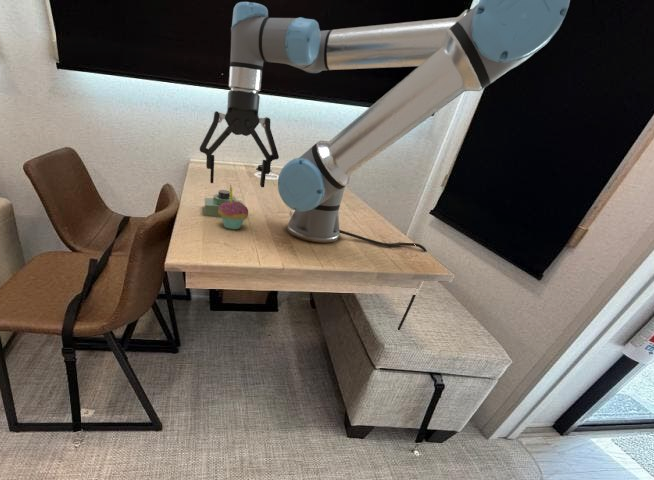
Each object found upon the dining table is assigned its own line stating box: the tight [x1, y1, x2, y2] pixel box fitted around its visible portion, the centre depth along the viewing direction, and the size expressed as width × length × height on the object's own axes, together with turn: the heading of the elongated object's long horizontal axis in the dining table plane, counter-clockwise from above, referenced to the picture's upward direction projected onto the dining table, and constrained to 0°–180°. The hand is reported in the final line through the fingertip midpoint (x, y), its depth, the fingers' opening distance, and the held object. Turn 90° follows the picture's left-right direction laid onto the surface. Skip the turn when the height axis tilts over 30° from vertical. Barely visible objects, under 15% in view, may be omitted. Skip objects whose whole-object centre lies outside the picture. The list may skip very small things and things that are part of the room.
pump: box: [217, 189, 230, 199], centre depth 101 cm, size 4×4×2 cm
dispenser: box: [204, 193, 244, 218], centre depth 103 cm, size 12×8×5 cm, turn 97°
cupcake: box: [218, 184, 249, 230], centre depth 91 cm, size 9×8×12 cm
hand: (237, 184), depth 88 cm, fingers open, 13 cm apart
